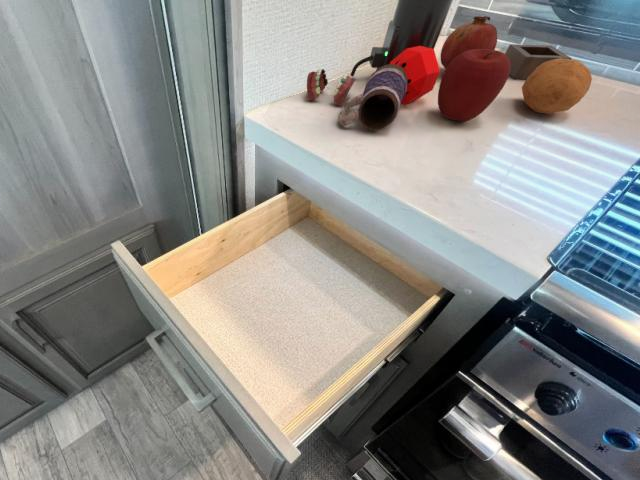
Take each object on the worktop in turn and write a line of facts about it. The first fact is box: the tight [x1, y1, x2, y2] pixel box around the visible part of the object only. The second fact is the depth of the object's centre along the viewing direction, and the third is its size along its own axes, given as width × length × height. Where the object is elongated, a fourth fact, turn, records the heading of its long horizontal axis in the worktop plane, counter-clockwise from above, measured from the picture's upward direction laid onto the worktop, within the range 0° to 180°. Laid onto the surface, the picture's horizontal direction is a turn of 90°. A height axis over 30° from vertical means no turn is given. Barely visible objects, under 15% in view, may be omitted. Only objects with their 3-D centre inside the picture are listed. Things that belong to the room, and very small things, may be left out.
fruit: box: [440, 15, 498, 69], centre depth 68 cm, size 11×10×10 cm
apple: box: [437, 49, 510, 122], centre depth 54 cm, size 10×10×10 cm
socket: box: [504, 43, 573, 80], centre depth 71 cm, size 9×9×4 cm
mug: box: [337, 64, 408, 132], centre depth 56 cm, size 10×7×12 cm
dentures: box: [306, 68, 356, 106], centre depth 62 cm, size 6×5×9 cm
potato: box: [521, 58, 593, 115], centre depth 57 cm, size 9×11×8 cm
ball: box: [390, 46, 441, 105], centre depth 60 cm, size 8×8×8 cm
